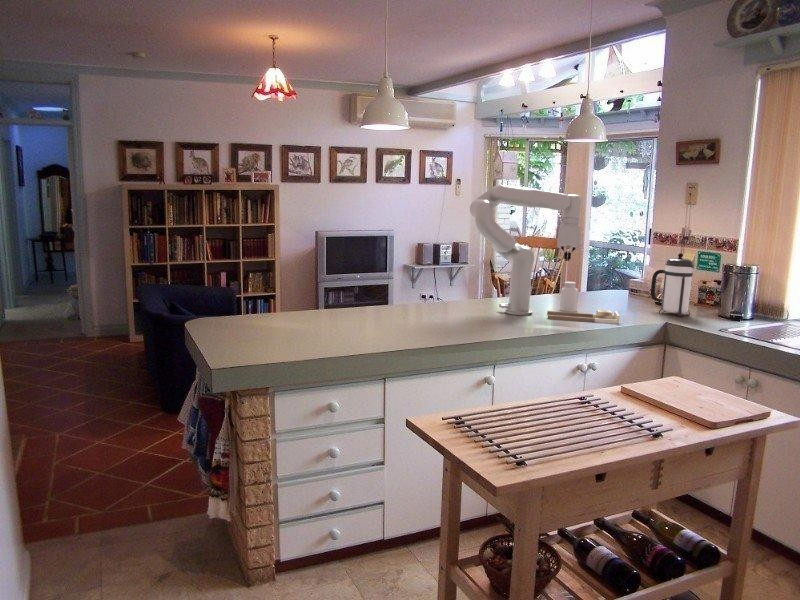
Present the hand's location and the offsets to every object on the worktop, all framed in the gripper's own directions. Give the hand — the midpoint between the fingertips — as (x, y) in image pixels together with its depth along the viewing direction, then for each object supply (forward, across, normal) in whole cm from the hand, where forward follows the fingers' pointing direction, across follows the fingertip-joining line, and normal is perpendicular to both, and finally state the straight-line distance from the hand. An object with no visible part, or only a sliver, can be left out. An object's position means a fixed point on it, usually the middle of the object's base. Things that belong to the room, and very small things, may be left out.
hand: (567, 260), depth 298 cm
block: (+24, +18, -17) cm, 34 cm away
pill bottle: (+25, +3, +2) cm, 25 cm away
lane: (+25, +9, -18) cm, 32 cm away
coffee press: (+24, +51, +24) cm, 62 cm away
